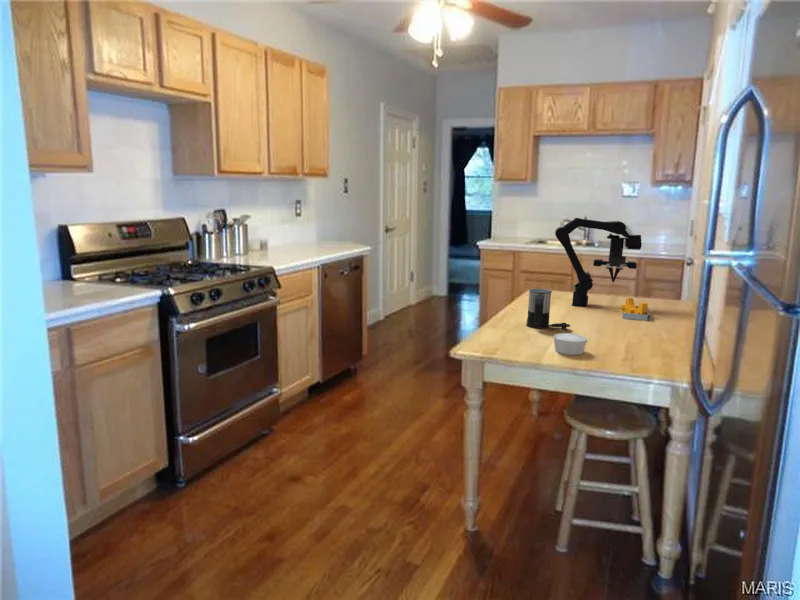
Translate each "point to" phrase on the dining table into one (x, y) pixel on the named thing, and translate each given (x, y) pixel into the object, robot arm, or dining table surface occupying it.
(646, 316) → the rail bay
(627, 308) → the pipe clamp
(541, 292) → the milk frother
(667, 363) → the dining table surface
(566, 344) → the ramekin
